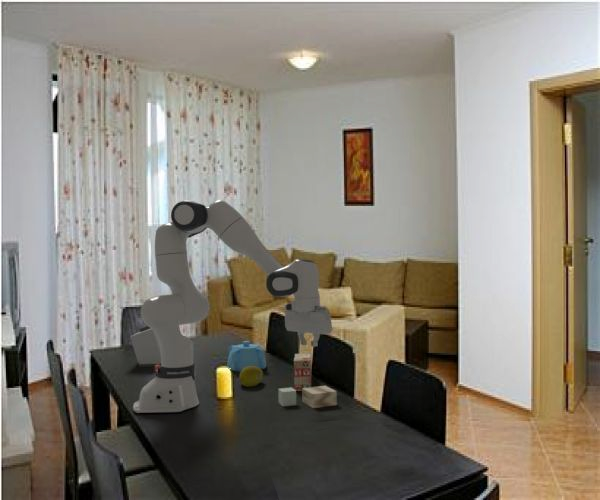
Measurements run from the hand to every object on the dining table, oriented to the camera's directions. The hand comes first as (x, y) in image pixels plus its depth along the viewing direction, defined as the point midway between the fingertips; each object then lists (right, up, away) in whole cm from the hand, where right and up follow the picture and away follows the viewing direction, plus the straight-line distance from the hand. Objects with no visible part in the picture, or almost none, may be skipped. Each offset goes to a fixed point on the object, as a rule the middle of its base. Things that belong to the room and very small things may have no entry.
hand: (309, 345), depth 212 cm
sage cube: (-8, -21, +1) cm, 22 cm away
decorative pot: (-26, -20, +51) cm, 61 cm away
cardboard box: (-2, -20, +27) cm, 34 cm away
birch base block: (+4, -21, +1) cm, 21 cm away
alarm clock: (-68, -20, +65) cm, 97 cm away
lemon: (-22, -20, +27) cm, 40 cm away
